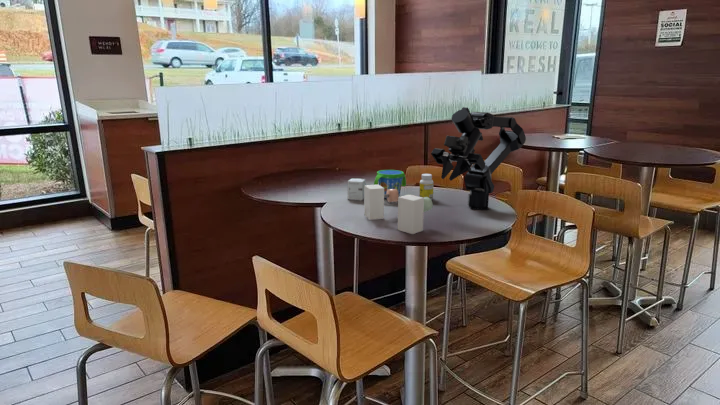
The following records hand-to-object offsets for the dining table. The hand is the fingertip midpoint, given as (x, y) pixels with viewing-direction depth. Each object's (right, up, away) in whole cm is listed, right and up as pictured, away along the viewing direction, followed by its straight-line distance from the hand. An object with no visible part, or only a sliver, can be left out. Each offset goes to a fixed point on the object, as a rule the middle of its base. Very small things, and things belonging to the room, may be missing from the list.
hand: (446, 179), depth 160 cm
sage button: (-9, -11, -6) cm, 16 cm away
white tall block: (-23, -13, +6) cm, 27 cm away
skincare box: (-29, -6, +31) cm, 43 cm away
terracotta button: (-19, -8, +6) cm, 21 cm away
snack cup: (-16, -6, +32) cm, 37 cm away
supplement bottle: (-3, -6, +30) cm, 31 cm away
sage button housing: (-13, -16, -8) cm, 22 cm away
